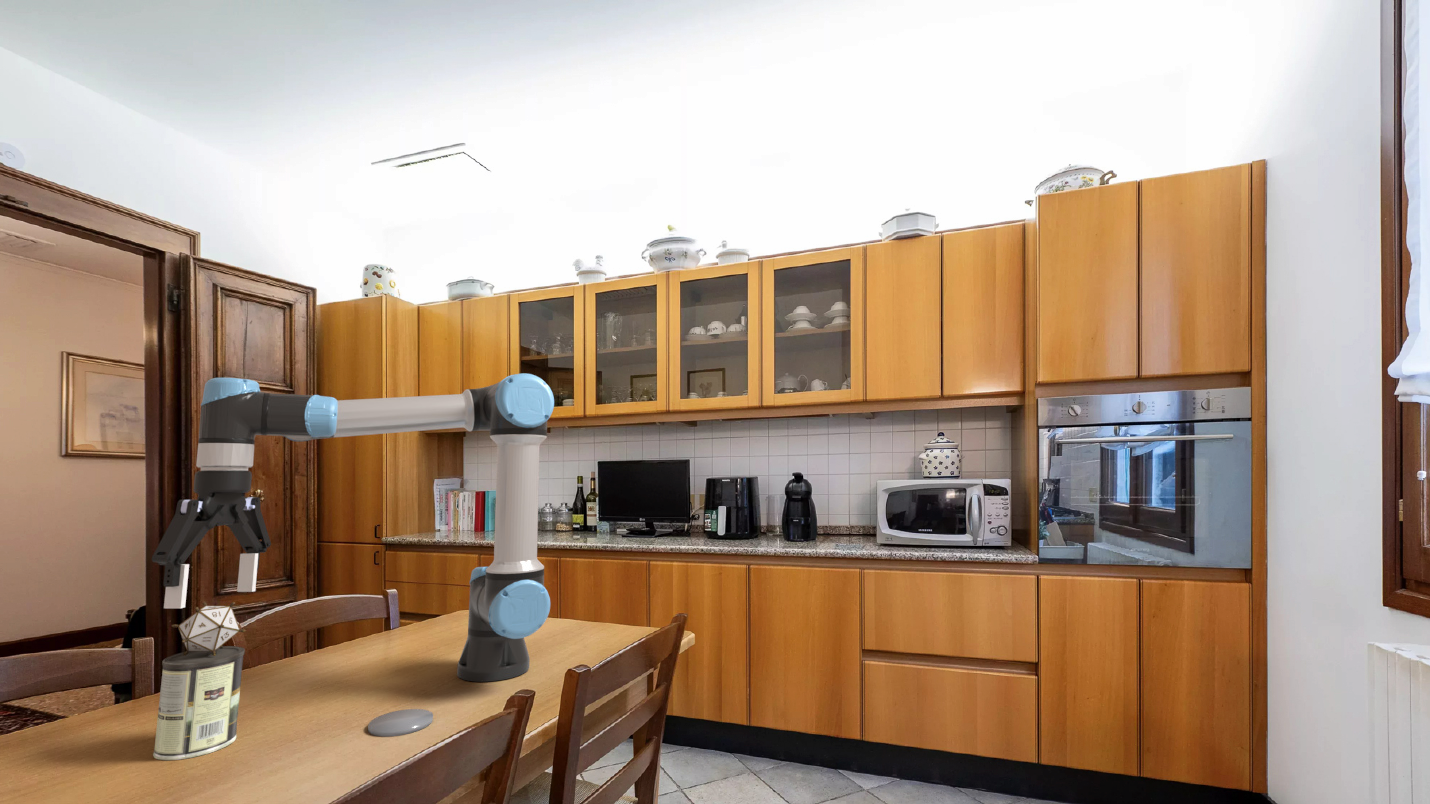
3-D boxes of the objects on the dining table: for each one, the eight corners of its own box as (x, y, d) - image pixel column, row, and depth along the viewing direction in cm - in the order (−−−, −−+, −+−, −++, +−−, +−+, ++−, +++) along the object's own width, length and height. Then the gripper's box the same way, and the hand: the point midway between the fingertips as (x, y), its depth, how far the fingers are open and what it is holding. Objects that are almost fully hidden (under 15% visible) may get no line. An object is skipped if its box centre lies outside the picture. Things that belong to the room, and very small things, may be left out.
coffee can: (196, 731, 103) (205, 644, 104) (252, 734, 102) (260, 646, 103) (132, 759, 92) (144, 662, 94) (194, 762, 91) (204, 664, 93)
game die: (199, 681, 97) (170, 639, 92) (182, 654, 101) (153, 612, 96) (262, 643, 103) (238, 601, 98) (243, 619, 107) (219, 578, 102)
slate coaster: (443, 714, 110) (443, 709, 110) (413, 737, 100) (414, 731, 101) (389, 713, 111) (390, 708, 111) (355, 735, 101) (355, 730, 101)
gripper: (261, 470, 115) (251, 585, 113) (129, 468, 90) (113, 616, 88) (299, 470, 115) (290, 585, 112) (177, 468, 90) (162, 616, 88)
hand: (212, 599), depth 100 cm, fingers open, 13 cm apart
